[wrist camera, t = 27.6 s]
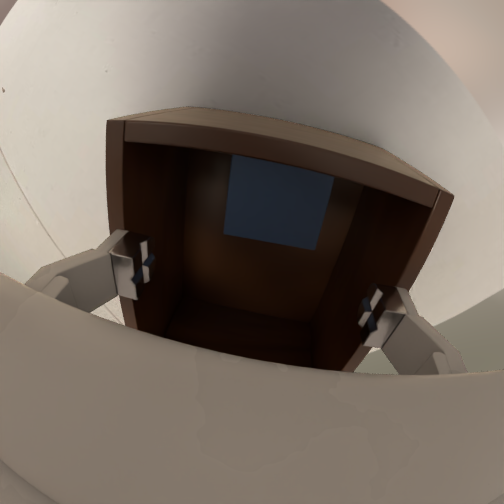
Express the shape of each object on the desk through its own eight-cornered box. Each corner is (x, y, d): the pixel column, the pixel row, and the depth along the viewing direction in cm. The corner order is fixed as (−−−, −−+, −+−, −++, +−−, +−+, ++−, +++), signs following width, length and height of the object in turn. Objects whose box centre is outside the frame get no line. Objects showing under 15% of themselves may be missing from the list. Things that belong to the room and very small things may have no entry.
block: (247, 130, 15) (233, 141, 11) (324, 144, 15) (338, 161, 11) (238, 200, 17) (223, 234, 13) (308, 213, 17) (314, 250, 13)
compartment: (187, 106, 15) (106, 119, 8) (382, 148, 15) (455, 195, 7) (176, 294, 23) (138, 374, 16) (315, 323, 23) (319, 411, 16)
